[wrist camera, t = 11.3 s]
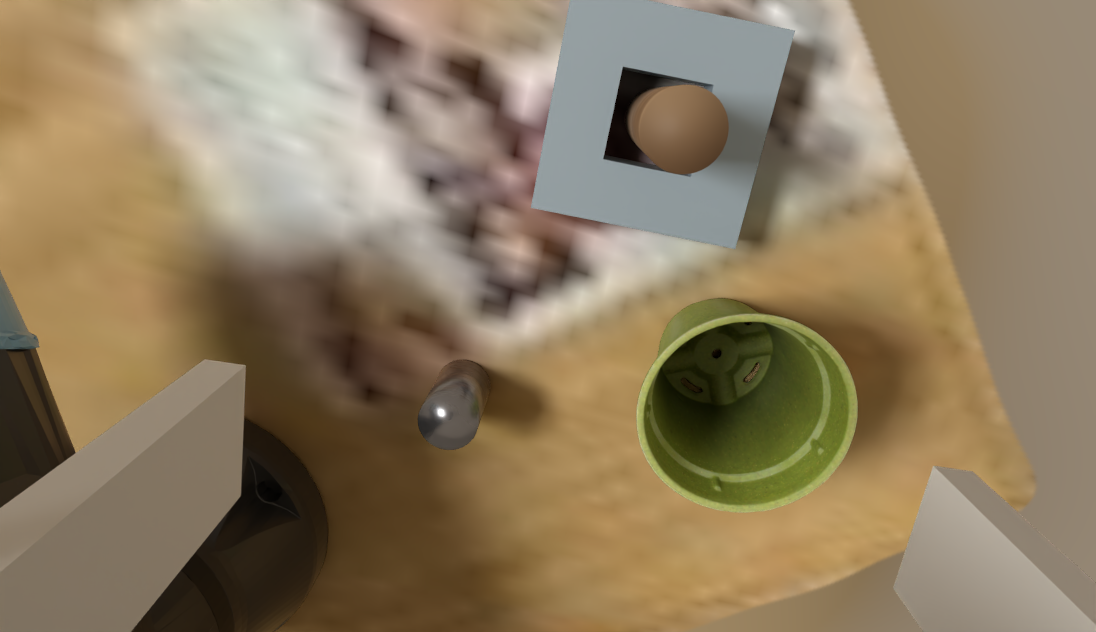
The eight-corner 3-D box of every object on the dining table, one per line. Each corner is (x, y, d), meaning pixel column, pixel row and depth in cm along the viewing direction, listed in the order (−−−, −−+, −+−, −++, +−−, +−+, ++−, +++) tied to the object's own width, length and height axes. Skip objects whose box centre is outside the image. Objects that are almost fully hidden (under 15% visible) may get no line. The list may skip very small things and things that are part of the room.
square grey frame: (535, 199, 38) (531, 207, 36) (574, -6, 36) (572, -15, 33) (724, 237, 39) (735, 248, 36) (778, 35, 36) (794, 30, 33)
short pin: (433, 403, 42) (413, 443, 37) (441, 354, 41) (422, 389, 36) (485, 414, 42) (472, 455, 37) (494, 365, 41) (482, 400, 36)
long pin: (632, 82, 37) (652, 76, 25) (691, 94, 37) (738, 94, 25) (618, 143, 38) (632, 165, 26) (676, 155, 38) (716, 182, 26)
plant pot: (740, 458, 42) (778, 548, 34) (595, 381, 41) (597, 453, 33) (837, 321, 40) (903, 381, 31) (685, 235, 39) (711, 273, 30)
